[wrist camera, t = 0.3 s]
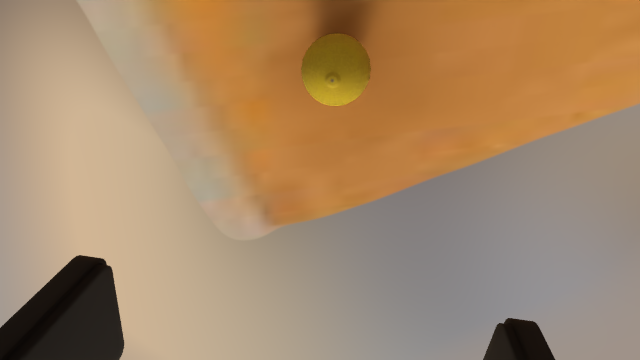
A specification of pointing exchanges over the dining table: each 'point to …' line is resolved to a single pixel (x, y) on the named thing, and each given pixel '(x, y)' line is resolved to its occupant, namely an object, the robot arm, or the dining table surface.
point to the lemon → (336, 69)
